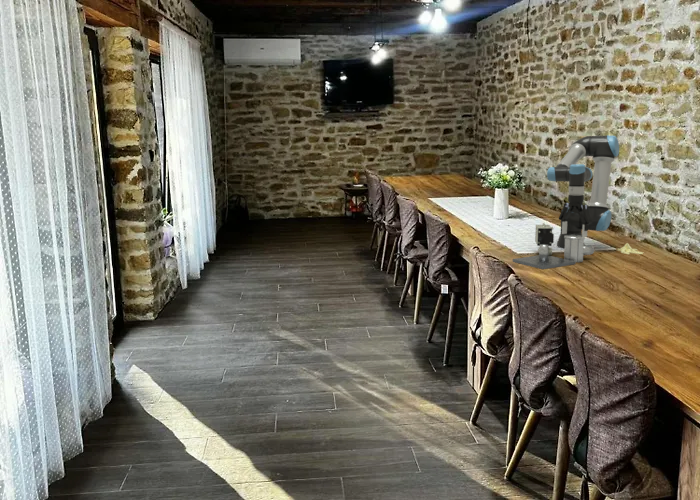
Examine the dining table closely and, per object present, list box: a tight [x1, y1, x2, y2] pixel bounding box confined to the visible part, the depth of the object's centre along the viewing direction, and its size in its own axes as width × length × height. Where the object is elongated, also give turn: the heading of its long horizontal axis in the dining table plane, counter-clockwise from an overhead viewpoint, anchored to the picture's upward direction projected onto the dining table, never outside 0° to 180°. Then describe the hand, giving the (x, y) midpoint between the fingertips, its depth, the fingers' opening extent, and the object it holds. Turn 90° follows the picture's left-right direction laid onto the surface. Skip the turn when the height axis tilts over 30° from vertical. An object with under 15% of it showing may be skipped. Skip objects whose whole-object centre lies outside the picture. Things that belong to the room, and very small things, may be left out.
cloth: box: [616, 242, 644, 255], centre depth 344 cm, size 22×19×6 cm
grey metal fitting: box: [563, 235, 595, 263], centre depth 320 cm, size 17×10×13 cm, turn 117°
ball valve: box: [534, 223, 555, 256], centre depth 333 cm, size 18×8×18 cm, turn 168°
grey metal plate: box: [512, 244, 576, 270], centre depth 315 cm, size 22×22×10 cm
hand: (574, 235), depth 317 cm, fingers open, 13 cm apart
